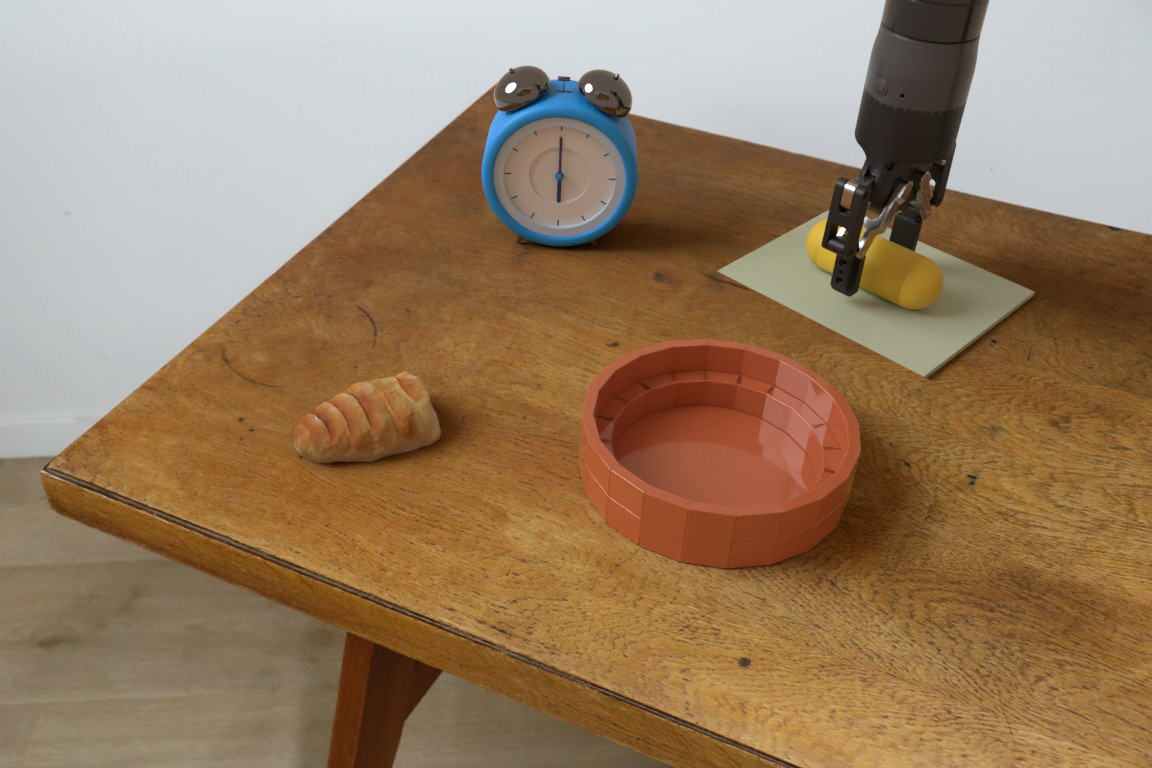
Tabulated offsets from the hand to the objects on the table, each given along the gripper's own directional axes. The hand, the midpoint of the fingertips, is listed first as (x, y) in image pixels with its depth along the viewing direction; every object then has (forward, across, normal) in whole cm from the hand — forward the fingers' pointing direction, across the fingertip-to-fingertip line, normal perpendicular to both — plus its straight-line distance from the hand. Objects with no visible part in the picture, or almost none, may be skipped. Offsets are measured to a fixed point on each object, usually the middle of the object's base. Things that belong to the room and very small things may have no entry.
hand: (872, 273), depth 92 cm
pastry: (+2, -42, +12) cm, 44 cm away
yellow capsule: (+1, 0, 0) cm, 1 cm away
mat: (+2, 0, 0) cm, 2 cm away
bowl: (+2, -28, -6) cm, 29 cm away
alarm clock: (+2, -13, +24) cm, 27 cm away
